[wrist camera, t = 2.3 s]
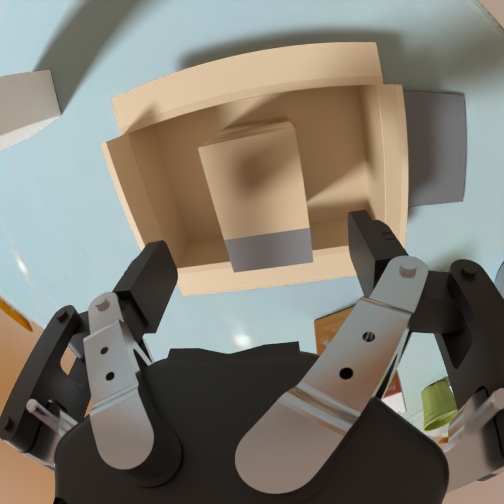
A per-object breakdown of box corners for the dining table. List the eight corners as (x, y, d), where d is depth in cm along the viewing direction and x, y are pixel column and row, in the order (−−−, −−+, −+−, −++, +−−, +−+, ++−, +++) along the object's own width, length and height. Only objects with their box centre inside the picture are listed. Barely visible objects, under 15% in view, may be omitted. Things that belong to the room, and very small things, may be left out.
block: (286, 115, 20) (294, 128, 12) (301, 204, 24) (313, 262, 17) (226, 127, 21) (197, 147, 13) (246, 212, 25) (233, 272, 17)
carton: (355, 51, 17) (393, 35, 10) (372, 240, 26) (399, 292, 19) (140, 95, 20) (87, 102, 13) (195, 264, 29) (174, 318, 22)
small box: (373, 295, 30) (404, 391, 19) (383, 326, 33) (408, 412, 22) (311, 320, 32) (319, 417, 22) (328, 347, 35) (337, 433, 24)
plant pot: (429, 377, 40) (440, 414, 33) (460, 372, 40) (472, 405, 33) (407, 400, 45) (414, 434, 38) (438, 395, 45) (446, 426, 38)
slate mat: (460, 95, 17) (463, 95, 16) (459, 199, 22) (462, 201, 22) (381, 90, 18) (383, 90, 18) (388, 206, 24) (390, 209, 23)
